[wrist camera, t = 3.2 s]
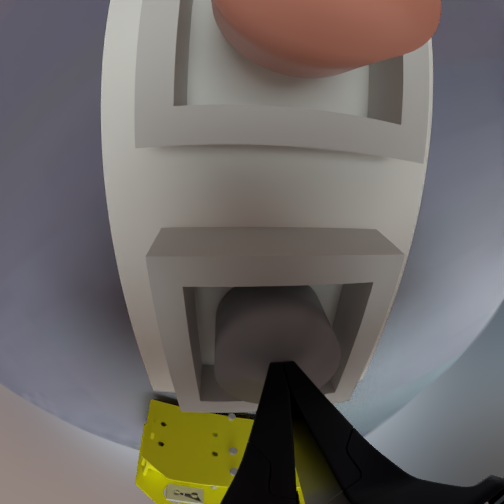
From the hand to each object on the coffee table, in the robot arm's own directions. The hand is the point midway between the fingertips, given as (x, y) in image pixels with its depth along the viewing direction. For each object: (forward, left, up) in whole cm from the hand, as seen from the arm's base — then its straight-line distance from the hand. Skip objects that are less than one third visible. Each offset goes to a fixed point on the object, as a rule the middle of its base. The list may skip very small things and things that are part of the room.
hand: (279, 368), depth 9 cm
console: (0, -5, -6) cm, 8 cm away
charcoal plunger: (0, 0, -3) cm, 3 cm away
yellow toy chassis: (+1, +15, -6) cm, 17 cm away
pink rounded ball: (0, -11, -1) cm, 11 cm away
